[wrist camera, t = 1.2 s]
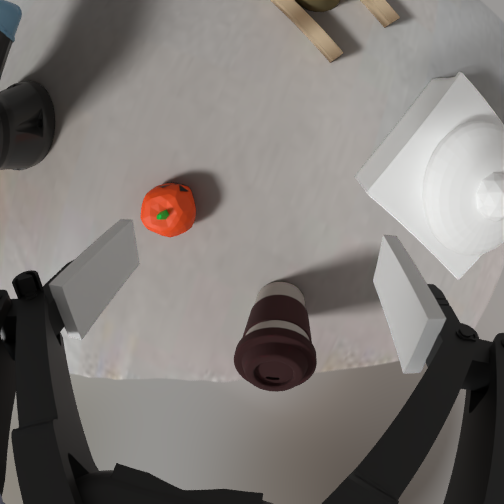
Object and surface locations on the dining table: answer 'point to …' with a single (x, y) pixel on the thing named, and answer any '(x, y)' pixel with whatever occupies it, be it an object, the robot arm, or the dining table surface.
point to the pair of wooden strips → (317, 35)
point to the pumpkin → (168, 209)
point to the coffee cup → (277, 340)
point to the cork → (318, 4)
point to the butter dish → (444, 173)
